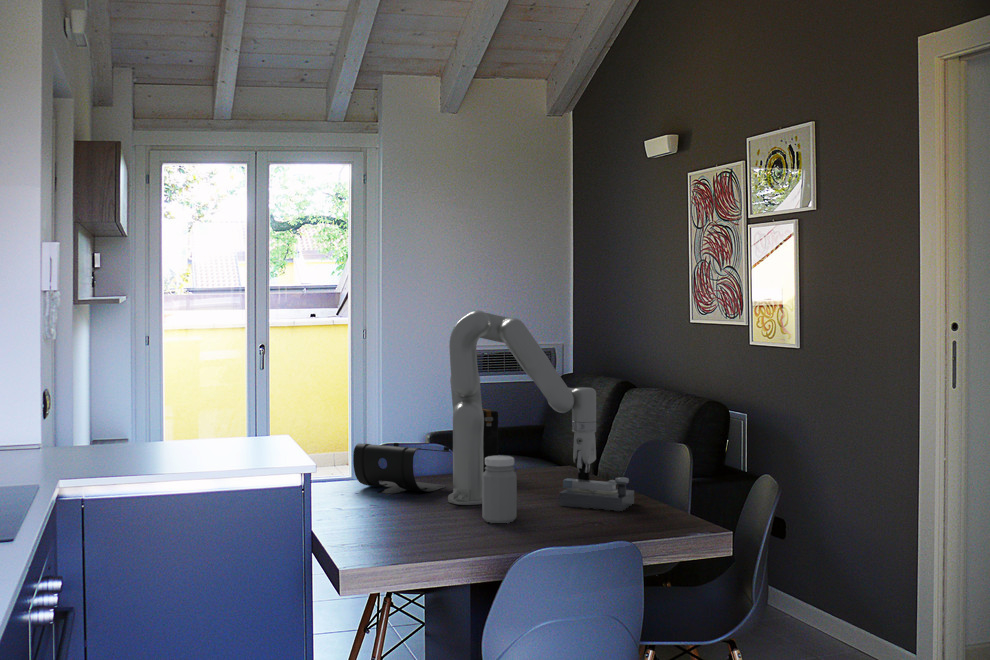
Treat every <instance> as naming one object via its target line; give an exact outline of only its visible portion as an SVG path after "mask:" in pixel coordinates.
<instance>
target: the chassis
mask: <svg viewBox="0 0 990 660" xmlns="http://www.w3.org/2000/svg"><path fill="white" fill-rule="evenodd" d="M632 504H633V505H634V504H635V490H633V489H632V490H631V489H630V490H629V489H627V483H626V484H620V483H617V488H616V490H614V491H612V492H611V491H600V490H588V489H577V488H565V489H563V490H562V491H560V492H559V493H558V506H559V507H569V508H578V507H582V508H581V509H589V508H593V509H592V510H599V509H604V510H603V511H610V510H614V511H613V512H620V511H622V512H623V510H624V511H626V510H627V509H628V508H629V506H630V507H632V506H633V505H632ZM626 508H627V509H626Z"/></svg>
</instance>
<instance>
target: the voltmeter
mask: <svg viewBox="0 0 990 660" xmlns="http://www.w3.org/2000/svg"><path fill="white" fill-rule="evenodd" d="M482 410H483V414H484V430H483V473H484V472H485V470H486V469H485V467H486V465H485V458H486V457H488V456H499V412H498V411H497V410H494V409H488V408H484V407H482Z"/></svg>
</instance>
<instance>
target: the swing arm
mask: <svg viewBox="0 0 990 660" xmlns="http://www.w3.org/2000/svg"><path fill="white" fill-rule="evenodd" d="M629 481H630V479H629V477H624V476H623V477H619V476H618V477H615V479H610V480H608V481H603V480H593V479H592V480H590V479H589V480H580V479H578V478H570V477H569V478H568V477H566V478H564V479H563V480H562V488H563V489H564V488H565V489H568V488H577V489H588V490H600V491H611V492H612V491H614V490H616V489H617V486H616V485H618V484H619V483H620V484H626V485H627V484H629V483H630V482H629Z"/></svg>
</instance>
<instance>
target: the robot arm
mask: <svg viewBox="0 0 990 660" xmlns="http://www.w3.org/2000/svg"><path fill="white" fill-rule="evenodd" d="M480 339H483V340H487V341H492V342H498V343H502V344H503V343H504V344H505V346H506V348H508V350H509V351H510V353H511V355H513V357H514V358H515V360H516V362H517V363H518V364H519V365H520V367H521V369H522V370H523V371H524V372H525V374H526V376H527V377H529V379H531V380H532V381H533V382H534V384H535V385H536V386H537V388H538V389H539V390H540V392H541V393H542V395H543V396H544V397H545V399H546V400H547V404H548V405H549V406H550V407H551V408H552V409H553V410H554V411H555V412H558V413H560V414H565V413H567V412H569V411H571V420H572V421H571V423H572V424H571V432H572V433H574V434H573V435H574V436H573V449H572V450H573V452H572V453H573V454H572V455H573V459H572V460H573V463H574V464H575V465H576V468H577V474H578V475H577V479H580V480H590V469H591V464H592V463H594V462H595V461H596V460H597V449H596V447H597V445H596V442H597V441H596V432H597V390H596V389H594V388H593V387H585V386H584V387H568V385H567V384H566V382H565V381H564V379H562V377H561V375H560V374H559V373H558V371H557V370H556V368H555V367H554V366H553V364H552V362H551V360H550V359H549V357H548V356H547V354H546V353H545V352H544V350H543V349H542V348H541V346H540V344H539V343H538V341H537V340H536V339H535V337H534V336H533V334H532V333H531V332H530V330H529V329H528V327H527V326H526V324H525V323H524V322H523V321H522V320H521V319H519V318H516V317H515V318H514V317H510V316H509V317H508V316H502V315H499V314H494V313H489V312H485V311H483V310H477V309H476V310H473V311H470V312H469V313H466V314H465V315H464V316H463V317H462V318H461V319H459V320H458V321H457V323H456V324H455V325H454V327H453V329H452V331H451V334H450V337H449V346H448V347H449V366H450V392H451V402H452V493H450V494H448V496H447V502H448V503H450V504H452V505H453V504H454V505H461V506H476V505H482V474H483V430H484V414H483V410H482V408H483V403H482V393H481V392H482V391H481V377H480V374H479V368H478V353H477V345H478V342H479V340H480Z"/></svg>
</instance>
